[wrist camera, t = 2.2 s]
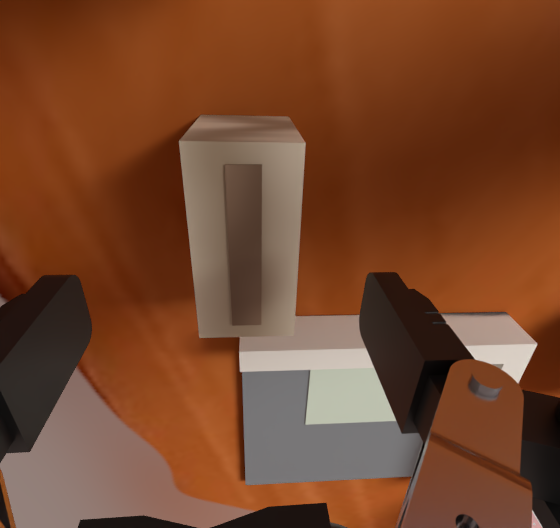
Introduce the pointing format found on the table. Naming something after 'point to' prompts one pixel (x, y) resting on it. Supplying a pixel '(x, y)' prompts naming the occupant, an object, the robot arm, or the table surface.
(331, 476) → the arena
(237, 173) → the birch block
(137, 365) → the table surface
